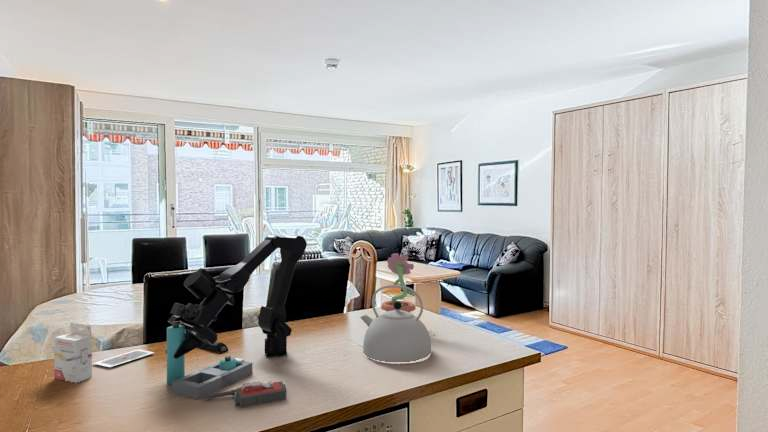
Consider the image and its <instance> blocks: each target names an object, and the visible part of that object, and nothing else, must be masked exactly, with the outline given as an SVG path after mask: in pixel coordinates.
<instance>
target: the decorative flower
mask: <svg viewBox="0 0 768 432" xmlns="http://www.w3.org/2000/svg"><path fill="white" fill-rule="evenodd" d="M408 259H409V256H407V255H406V254H403V253H401V254H399V253H396V252H394V253H392V254H391V256H388V258H387V261H386V262H387V264H388V265H387V268H388V269H389V270H390V271H391V272H392V273H393V274H396V275H398V279H395V281H394V282H393V285H398V284H400V286H406V287H407V285H406V283H405V280H404V275H410V274H411V270H414V268H415V265H414V263H408V261H407V260H408ZM401 289H402V293H401V294H399V295H398V294H397V295H394V296H392V295H388V294H386V296H388V297H390V298H391V300H388V301H384V302H382V303H381V305H380V308H381V310H383V311H385V312H387V311H392V310H396V309H395V308H394V303H395V302H397V301H398V302H400V303H401V305H402V306H401V308H400V309H399V310H402V311H406V312H409V313H411V312H413V311H416V309H417V308H416V305H415V303H413V302H411V301H405V300H403V299H405V298H406V297H407V295H410V296H412V297H416V295H415V294H414V293H413V292H411V291H409V290H407V289H404V288H401Z"/></svg>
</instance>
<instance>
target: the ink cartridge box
mask: <svg viewBox="0 0 768 432" xmlns="http://www.w3.org/2000/svg"><path fill="white" fill-rule="evenodd" d="M69 326H70V332H69V333H66V334H61V335H57V336H55V337H53V338H54V380H58V379H59V380H58V381H62V380H65V381H64V382H67V381H71V382H70V383H72V382H75V383H74V384H77V382H78V383H81V382H83V381H85V379H86V380H89V379H91V378H92V377H93V351H92V350H93V345H92V344H93V336H92V326H91V325H90V324H84V323H79V322H77V323H76V322H70V324H69ZM78 328H81V329H82V330H81V329H78ZM83 329H84V330H83ZM80 381H81V382H80Z"/></svg>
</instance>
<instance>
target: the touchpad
mask: <svg viewBox="0 0 768 432" xmlns="http://www.w3.org/2000/svg"><path fill="white" fill-rule="evenodd" d="M155 353H156V352H154V351H149V350H144V349H140V348H139V349H138V348H137V349H135V350H131V351H128V352H125V353H122V354H119V355H114V356H112V357H108V358H104V359H101V360H99V361H96V362H92V365H98V366H103V367H107V368H113V367H115V366H118V365H121V364H124V363H127V362H131V361H134V360H137V359H141V358H143V357H146V356H149V355H153V354H155Z"/></svg>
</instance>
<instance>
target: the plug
mask: <svg viewBox="0 0 768 432" xmlns="http://www.w3.org/2000/svg"><path fill="white" fill-rule="evenodd" d="M184 339H185V326H182V325H179V321H174V322H173V326H172V325H171V326H168V327H166V350H167V354H166V385H167V386H169V387H170V386H171V387H172V381H175V380H177V379H179V378H182V377H184V376H186V374H185V370H186V369H185V359H186V357H185V355H186V354H184V355H182V356H181V357H179V358H177V359H175V358H174V357H173V356H174V354H175V352H176V351H177V349H178V348H179V346H180V345H181V343H182V342H183V341H184Z"/></svg>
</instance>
